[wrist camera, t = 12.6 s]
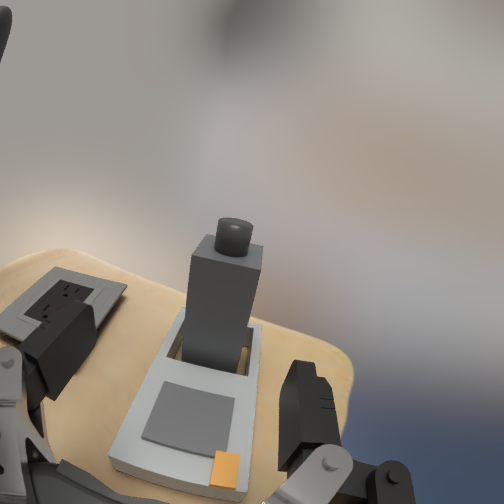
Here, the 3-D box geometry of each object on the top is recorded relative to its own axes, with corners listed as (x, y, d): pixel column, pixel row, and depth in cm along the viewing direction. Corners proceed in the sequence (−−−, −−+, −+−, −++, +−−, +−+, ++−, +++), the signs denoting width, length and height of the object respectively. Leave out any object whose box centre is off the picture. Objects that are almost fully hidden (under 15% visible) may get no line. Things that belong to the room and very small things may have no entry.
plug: (180, 373, 22) (195, 225, 17) (192, 341, 26) (210, 209, 21) (232, 385, 22) (268, 240, 17) (238, 351, 26) (268, 221, 21)
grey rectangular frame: (114, 469, 12) (105, 451, 11) (180, 326, 28) (182, 303, 27) (239, 502, 12) (248, 490, 11) (256, 343, 28) (263, 321, 27)
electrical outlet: (78, 378, 18) (72, 358, 17) (-4, 340, 17) (-11, 320, 16) (127, 300, 30) (127, 282, 29) (56, 281, 29) (54, 264, 28)
